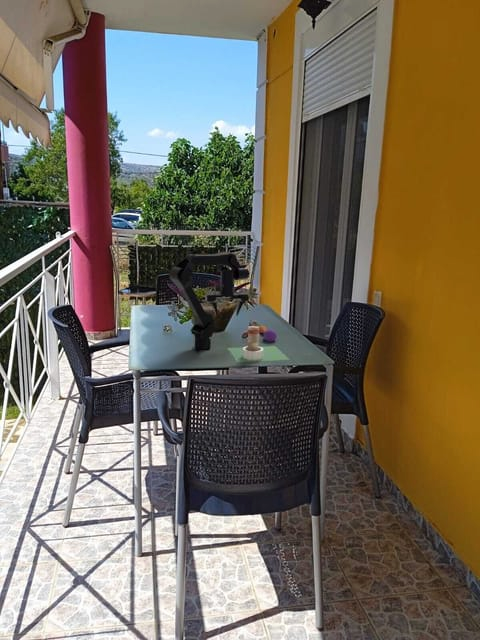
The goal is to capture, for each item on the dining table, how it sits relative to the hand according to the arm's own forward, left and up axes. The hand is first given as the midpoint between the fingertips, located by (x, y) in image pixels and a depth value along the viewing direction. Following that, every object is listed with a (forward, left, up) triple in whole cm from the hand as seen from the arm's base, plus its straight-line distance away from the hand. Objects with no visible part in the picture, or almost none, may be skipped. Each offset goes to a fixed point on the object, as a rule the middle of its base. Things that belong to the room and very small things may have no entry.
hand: (226, 316), depth 207 cm
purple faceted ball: (+22, +9, -14) cm, 27 cm away
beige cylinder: (+7, -21, -13) cm, 25 cm away
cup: (+7, -21, -13) cm, 25 cm away
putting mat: (+10, -17, -13) cm, 24 cm away
